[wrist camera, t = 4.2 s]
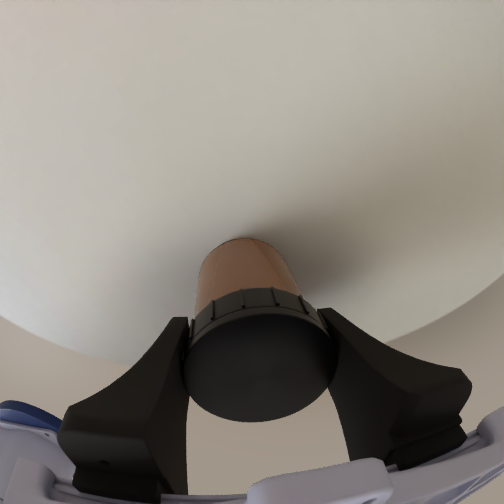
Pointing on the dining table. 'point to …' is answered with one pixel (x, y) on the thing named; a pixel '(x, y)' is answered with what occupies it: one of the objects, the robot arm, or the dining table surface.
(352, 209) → the dining table surface
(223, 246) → the jar
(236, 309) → the jar lid
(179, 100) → the dining table surface
